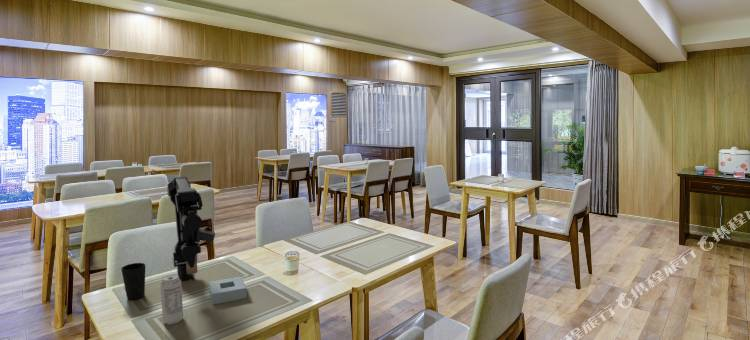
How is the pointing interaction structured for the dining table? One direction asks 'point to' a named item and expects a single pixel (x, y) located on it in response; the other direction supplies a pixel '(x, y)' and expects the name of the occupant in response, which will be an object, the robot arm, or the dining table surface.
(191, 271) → the dowel
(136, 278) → the cup
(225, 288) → the socket
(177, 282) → the energy drink can
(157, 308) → the dining table surface
